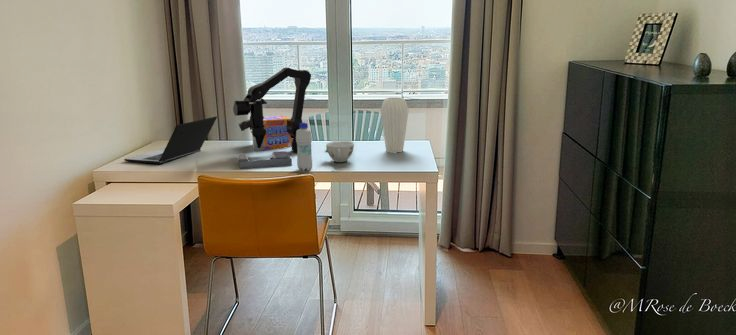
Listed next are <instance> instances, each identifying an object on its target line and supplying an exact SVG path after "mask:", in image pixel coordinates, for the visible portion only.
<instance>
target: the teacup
mask: <svg viewBox="0 0 736 335" xmlns="http://www.w3.org/2000/svg"><path fill="white" fill-rule="evenodd" d="M325 146H326V147H325V149H326V148H327V149H326V151H327V154H328V156H329V157H330V158H331V159H332V160H333V162H337V163H344V162H345V163H346V162H347V161H348V160H349V159H350V157H351V156H352V154H353V151H354V146H355V143H354V142H351V141H335V142H329V143H326V145H325Z"/></svg>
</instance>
